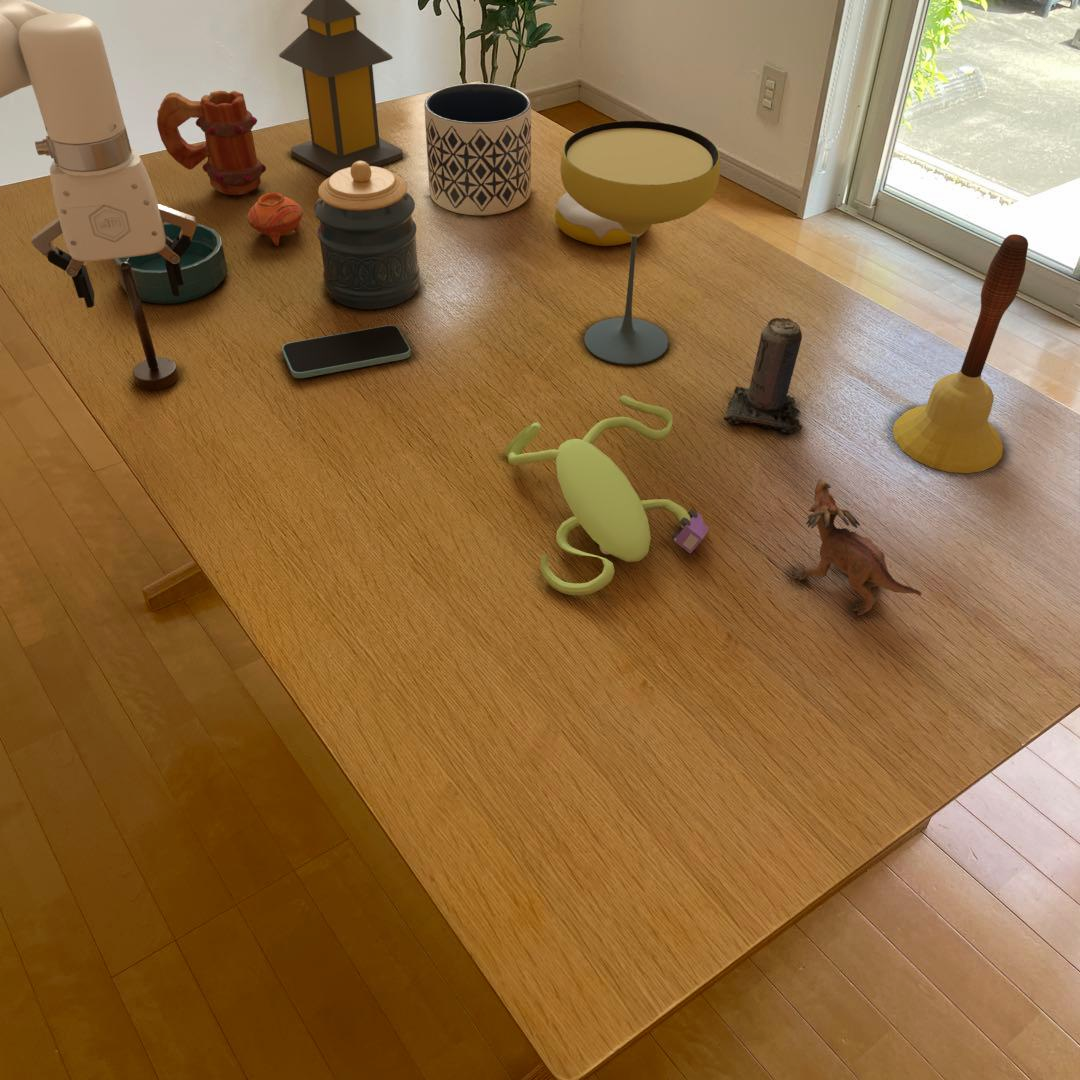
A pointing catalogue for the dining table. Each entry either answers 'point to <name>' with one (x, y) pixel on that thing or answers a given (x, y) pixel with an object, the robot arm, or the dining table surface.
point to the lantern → (339, 90)
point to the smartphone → (345, 351)
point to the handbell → (967, 384)
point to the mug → (214, 139)
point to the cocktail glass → (637, 205)
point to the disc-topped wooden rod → (147, 343)
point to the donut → (588, 224)
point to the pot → (275, 216)
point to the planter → (478, 148)
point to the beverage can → (770, 380)
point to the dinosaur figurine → (848, 551)
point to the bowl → (197, 264)
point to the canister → (367, 237)
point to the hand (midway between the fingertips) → (134, 295)
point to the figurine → (605, 497)
